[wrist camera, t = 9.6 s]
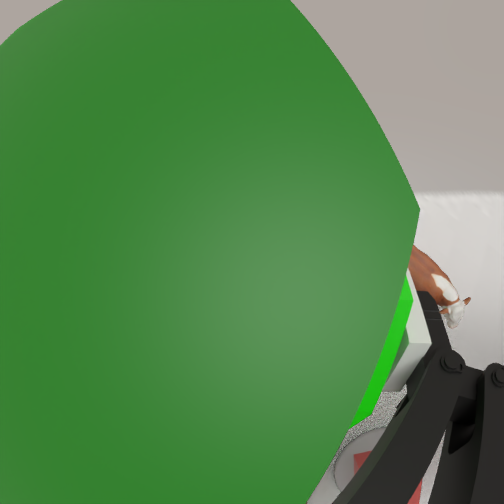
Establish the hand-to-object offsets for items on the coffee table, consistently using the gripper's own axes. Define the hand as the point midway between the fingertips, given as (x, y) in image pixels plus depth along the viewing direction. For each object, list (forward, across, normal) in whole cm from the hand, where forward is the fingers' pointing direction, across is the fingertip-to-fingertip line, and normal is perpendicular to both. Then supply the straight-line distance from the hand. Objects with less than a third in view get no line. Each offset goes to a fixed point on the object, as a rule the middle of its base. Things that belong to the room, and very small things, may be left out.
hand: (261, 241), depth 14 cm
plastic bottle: (+7, 0, -11) cm, 13 cm away
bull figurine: (+17, +16, -15) cm, 28 cm away
